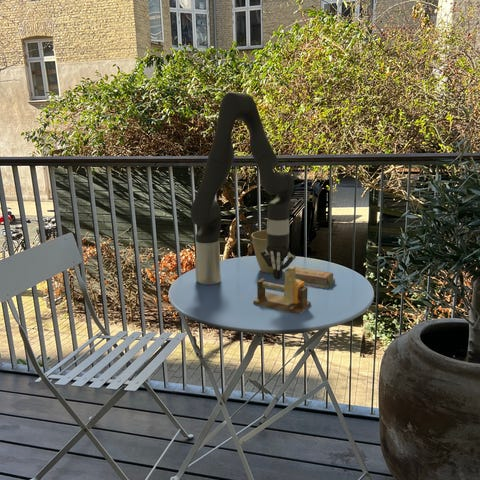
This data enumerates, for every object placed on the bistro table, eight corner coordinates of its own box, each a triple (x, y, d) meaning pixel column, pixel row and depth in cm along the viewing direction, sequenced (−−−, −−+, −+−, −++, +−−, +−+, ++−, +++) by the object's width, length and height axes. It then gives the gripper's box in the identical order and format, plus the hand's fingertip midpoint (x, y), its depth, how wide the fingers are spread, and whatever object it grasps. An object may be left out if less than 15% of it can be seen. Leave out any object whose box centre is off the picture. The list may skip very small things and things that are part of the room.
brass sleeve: (283, 301, 156) (284, 270, 153) (292, 295, 161) (292, 265, 158) (293, 303, 154) (293, 272, 151) (301, 297, 159) (301, 267, 156)
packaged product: (335, 270, 180) (327, 278, 172) (335, 281, 181) (327, 290, 173) (293, 263, 189) (284, 271, 180) (293, 274, 190) (284, 282, 182)
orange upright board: (293, 302, 154) (293, 286, 152) (300, 296, 159) (301, 280, 157) (296, 303, 153) (296, 287, 152) (304, 297, 158) (304, 281, 157)
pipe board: (253, 303, 162) (253, 283, 159) (265, 295, 169) (265, 275, 167) (299, 314, 152) (299, 293, 150) (310, 304, 159) (310, 284, 157)
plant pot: (245, 268, 198) (245, 232, 194) (275, 262, 204) (275, 228, 200) (262, 278, 185) (262, 241, 181) (293, 272, 192) (293, 235, 187)
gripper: (300, 231, 153) (299, 279, 158) (266, 226, 160) (266, 272, 165) (290, 236, 147) (290, 286, 152) (255, 231, 154) (256, 279, 159)
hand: (277, 279), depth 159 cm, fingers closed
